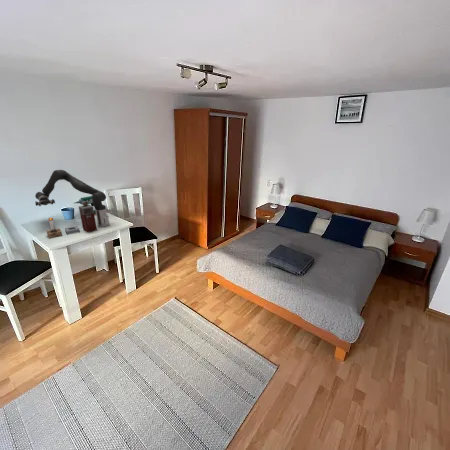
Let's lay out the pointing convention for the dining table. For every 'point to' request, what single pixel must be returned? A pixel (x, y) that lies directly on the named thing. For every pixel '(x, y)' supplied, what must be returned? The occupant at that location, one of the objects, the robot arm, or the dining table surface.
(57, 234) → the walnut rack
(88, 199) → the power tool
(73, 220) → the dining table surface
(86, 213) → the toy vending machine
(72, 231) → the socket block
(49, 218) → the steel peg
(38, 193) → the robot arm
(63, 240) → the dining table surface
